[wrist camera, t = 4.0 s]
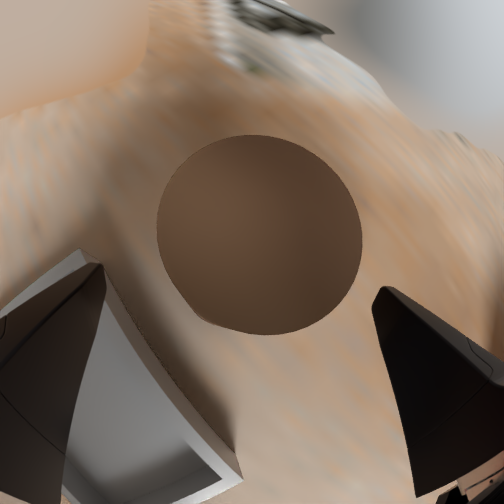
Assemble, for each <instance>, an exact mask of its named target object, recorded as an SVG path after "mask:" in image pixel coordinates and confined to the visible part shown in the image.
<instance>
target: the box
mask: <svg viewBox="0 0 504 504" xmlns="http://www.w3.org/2000/svg"><path fill="white" fill-rule="evenodd" d="M89 262H96V263H101V262H100V261H98V260H97V259H95V258H94V257H92V256H91V255H89V254H88V253H86V252H85V251H83V250H82V249H80V248H79V249H77V250H76V251H74V252H73V253H71V254H70V255H69V256H67V257H66V258H65V259H63V260H62V261H61V262H59V263H58V264H56V265H55V266H54V267H53V268H51V269H50V270H49V271H47V272H46V273H45V274H43V275H42V276H41V277H40V278H38V279H37V280H36V281H35V282H33V283H32V284H31V285H30V286H28V287H27V288H26V289H25V290H24V291H22V292H21V293H20V294H19V295H18V296H16V297H15V298H14V299H13V300H12V301H11V302H9V303H8V304H7V305H6V306H5V307H4V308H3V309H1V310H0V318H2V317H3V316H4V315H7V314H8V313H9V312H10V311H12V310H13V309H15V308H16V307H18V306H19V305H21V304H22V303H24V302H25V301H27V300H28V299H30V298H31V297H33V296H35V295H36V294H38V293H39V292H41V291H42V290H44V289H46V288H47V287H49V286H50V285H52V284H54V283H55V282H57V281H58V280H60V279H62V278H63V277H65V276H67V275H68V274H70V273H72V272H73V271H75V270H77V269H79V268H80V267H82V266H84V265H85V264H87V263H89ZM104 273H105V279H106V284H107V291H106V296H105V300H104V303H103V307H102V311H101V316H100V320H99V324H98V329H97V333H96V336H95V339H94V343H93V346H92V349H91V352H90V355H89V358H88V361H87V365H86V368H85V372H84V375H83V379H82V382H81V386H80V390H79V394H78V397H77V402H76V406H75V410H74V414H73V419H72V423H71V428H70V433H69V439H68V444H67V450H66V454H65V455H66V457H65V464H64V472H63V480H62V490H61V493H62V494H63V495H64V496H65V497H66V498H67V499H68V500H69V501H70V502H71V503H72V504H199V503H201V502H203V501H205V500H208V499H210V498H212V497H214V496H216V495H218V494H220V493H222V492H224V491H226V490H228V489H230V488H232V487H233V486H235V485H237V484H239V483H241V482H243V481H244V479H243V476H242V473H241V470H240V467H239V463H238V460H237V457H236V454H235V453H234V452H233V451H232V450H231V449H230V448H229V447H228V446H227V445H226V444H225V443H224V442H223V441H222V439H221V438H220V437H219V436H218V435H217V434H216V433H215V432H214V431H213V429H212V428H211V427H210V426H209V425H208V424H207V422H206V421H205V420H204V419H203V418H202V417H201V415H200V414H199V413H198V412H197V411H196V409H195V408H194V407H193V406H192V404H191V403H190V402H189V401H188V399H187V398H186V397H185V396H184V394H183V393H182V392H181V390H180V389H179V388H178V386H177V385H176V384H175V382H174V381H173V380H172V378H171V377H170V376H169V374H168V373H167V371H166V370H165V369H164V367H163V366H162V364H161V363H160V362H159V360H158V359H157V357H156V356H155V354H154V353H153V351H152V350H151V348H150V347H149V345H148V344H147V342H146V341H145V339H144V338H143V336H142V335H141V333H140V331H139V330H138V328H137V327H136V325H135V323H134V322H133V320H132V318H131V317H130V315H129V313H128V312H127V310H126V308H125V307H124V305H123V303H122V301H121V300H120V298H119V296H118V294H117V292H116V291H115V289H114V287H113V285H112V283H111V281H110V279H109V278H108V276H107V274H106V272H105V270H104Z"/></svg>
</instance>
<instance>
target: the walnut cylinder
mask: <svg viewBox="0 0 504 504" xmlns="http://www.w3.org/2000/svg"><path fill="white" fill-rule="evenodd" d="M157 241H158V246H159V251H160V256H161V258H162V261H163V264H164V267H165V269H166V271H167V273H168V275H169V277H170V279H171V281H172V282H173V284H174V285H175V287H176V288H177V289H178V291H179V292H180V294H181V295H182V296H183V298H184V299H185V300H186V302H187V303H188V304H189V305H190V307H191V308H192V309H193V311H194V312H195V313H196V314H197V315H198V316H199V317H200V318H202V319H203V320H205V321H207V322H209V323H211V324H214V325H217V326H221V327H224V328H228V329H232V330H236V331H240V332H244V333H248V334H257V335H279V334H284V333H289V332H294V331H297V330H300V329H303V328H305V327H308V326H310V325H312V324H314V323H315V322H317V321H319V320H321V319H322V318H323V317H325V316H326V315H327V314H329V313H330V312H331V311H332V310H333V309H334V308H335V307H336V306H337V305H338V304H339V303H340V302H341V301H342V299H343V298H344V297H345V296H346V294H347V293H348V291H349V289H350V287H351V286H352V284H353V282H354V280H355V277H356V274H357V272H358V269H359V265H360V260H361V254H362V230H361V223H360V219H359V215H358V211H357V209H356V206H355V204H354V201H353V199H352V197H351V195H350V193H349V191H348V189H347V188H346V186H345V185H344V183H343V182H342V180H341V179H340V178H339V177H338V175H337V174H336V173H335V172H334V171H333V170H332V169H331V168H330V167H329V166H328V165H327V164H326V163H325V162H324V161H323V160H321V159H320V158H319V157H317V156H316V155H315V154H313V153H311V152H310V151H308V150H306V149H305V148H303V147H301V146H299V145H296V144H294V143H292V142H289V141H286V140H283V139H279V138H274V137H270V136H260V135H244V136H236V137H231V138H227V139H223V140H220V141H217V142H215V143H212V144H210V145H208V146H206V147H204V148H202V149H201V150H199V151H198V152H196V153H195V154H193V155H192V156H191V157H189V158H188V159H187V160H186V161H185V162H184V163H183V164H182V165H181V166H180V167H179V168H178V170H177V171H176V172H175V174H174V175H173V176H172V178H171V180H170V181H169V183H168V185H167V186H166V188H165V191H164V193H163V196H162V198H161V202H160V206H159V210H158V217H157Z"/></svg>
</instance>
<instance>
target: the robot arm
mask: <svg viewBox="0 0 504 504" xmlns="http://www.w3.org/2000/svg"><path fill="white" fill-rule="evenodd" d="M106 291H107V284H106V279H105V273H104V267H103V265H102V264H101V263H96V262H89V263H87V264H85V265H84V266H82V267H80V268H79V269H77V270H75V271H73V272H72V273H70V274H68V275H67V276H65V277H63V278H62V279H60V280H58V281H57V282H55V283H54V284H52V285H50V286H49V287H47V288H46V289H44V290H42V291H41V292H39V293H38V294H36V295H35V296H33V297H31V298H30V299H28V300H27V301H25V302H24V303H22V304H21V305H19V306H18V307H16V308H15V309H13V310H12V311H10V312H9V313H8V314H7V315H4V316H3V317H2V318H0V504H60V503H61V490H62V480H63V472H64V464H65V457H66V455H65V454H66V450H67V444H68V439H69V433H70V428H71V423H72V419H73V414H74V410H75V406H76V402H77V397H78V394H79V390H80V386H81V382H82V379H83V375H84V372H85V368H86V365H87V361H88V358H89V355H90V352H91V349H92V346H93V343H94V339H95V336H96V333H97V329H98V324H99V320H100V316H101V311H102V307H103V303H104V300H105V296H106ZM372 314H373V318H374V322H375V327H376V331H377V335H378V340H379V344H380V348H381V351H382V355H383V358H384V361H385V364H386V367H387V371H388V374H389V378H390V381H391V384H392V388H393V392H394V395H395V399H396V403H397V406H398V410H399V414H400V418H401V422H402V427H403V431H404V435H405V440H406V444H407V448H408V455H409V460H410V466H411V471H412V477H413V483H414V490H415V495H416V498H418V497H420V496H423V495H425V494H427V493H430V492H432V491H434V490H436V489H439V488H441V487H443V486H445V485H447V484H449V483H451V482H453V481H455V480H456V481H457V485H455V486H454V487H452V488H451V489H449V490H447V491H446V492H444V493H443V494H441V495H439V497H438V499H437V502H436V504H504V362H503V361H501V360H500V359H498V358H497V357H495V356H494V355H492V354H491V353H489V352H488V351H486V350H485V349H483V348H482V347H480V346H479V345H478V344H476V343H475V342H473V341H472V340H471V339H469V338H468V337H466V336H465V335H464V334H462V333H461V332H459V331H458V330H456V329H455V328H454V327H452V326H451V325H449V324H448V323H446V322H445V321H443V320H442V319H441V318H439V317H438V316H436V315H435V314H433V313H432V312H430V311H429V310H427V309H426V308H424V307H423V306H421V305H420V304H418V303H417V302H415V301H414V300H412V299H411V298H409V297H408V296H406V295H405V294H403V293H402V292H400V291H399V290H397V289H395V288H394V287H391V286H383V287H381V288H380V290H379V292H378V294H377V296H376V298H375V300H374V302H373V304H372Z"/></svg>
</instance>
